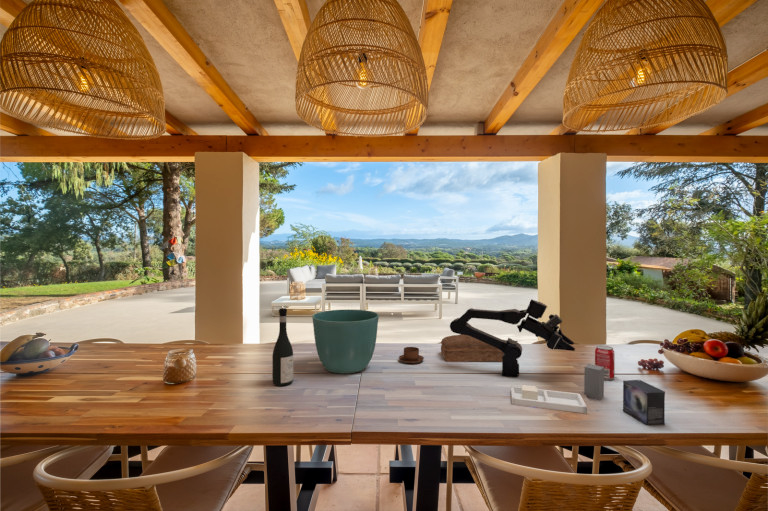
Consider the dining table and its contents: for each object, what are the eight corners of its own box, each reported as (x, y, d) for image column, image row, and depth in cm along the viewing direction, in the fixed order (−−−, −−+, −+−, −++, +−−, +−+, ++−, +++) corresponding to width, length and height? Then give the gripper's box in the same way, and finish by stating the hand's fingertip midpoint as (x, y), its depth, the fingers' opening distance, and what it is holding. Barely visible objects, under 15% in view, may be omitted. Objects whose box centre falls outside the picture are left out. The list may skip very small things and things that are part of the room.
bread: (505, 362, 177) (506, 339, 177) (444, 362, 177) (444, 338, 177) (495, 352, 194) (495, 331, 194) (439, 352, 194) (439, 331, 194)
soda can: (617, 381, 152) (617, 349, 152) (598, 380, 153) (598, 348, 153) (610, 375, 159) (610, 345, 159) (592, 374, 160) (592, 344, 160)
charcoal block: (584, 396, 136) (584, 366, 136) (588, 393, 139) (589, 364, 139) (599, 400, 132) (599, 370, 132) (603, 396, 136) (604, 367, 136)
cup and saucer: (394, 359, 182) (394, 347, 181) (416, 356, 186) (416, 344, 186) (405, 366, 171) (405, 353, 170) (428, 363, 175) (428, 350, 175)
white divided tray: (511, 407, 127) (511, 398, 127) (511, 394, 138) (511, 386, 138) (586, 416, 120) (587, 407, 120) (579, 402, 131) (579, 393, 131)
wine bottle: (297, 381, 150) (297, 308, 150) (284, 388, 143) (284, 310, 143) (281, 378, 154) (281, 306, 153) (268, 384, 146) (268, 309, 146)
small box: (621, 410, 124) (621, 379, 124) (639, 410, 125) (639, 379, 125) (646, 425, 114) (646, 391, 114) (665, 424, 114) (666, 391, 114)
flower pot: (363, 382, 149) (364, 323, 149) (299, 374, 159) (299, 318, 158) (387, 361, 178) (387, 311, 177) (331, 355, 187) (331, 308, 187)
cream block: (522, 401, 129) (522, 390, 129) (521, 396, 134) (521, 385, 134) (537, 403, 127) (537, 391, 127) (536, 397, 132) (536, 386, 132)
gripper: (544, 315, 145) (585, 335, 140) (545, 307, 162) (582, 324, 157) (531, 339, 148) (571, 360, 142) (534, 329, 165) (569, 346, 159)
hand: (574, 346), depth 150 cm, fingers open, 9 cm apart
